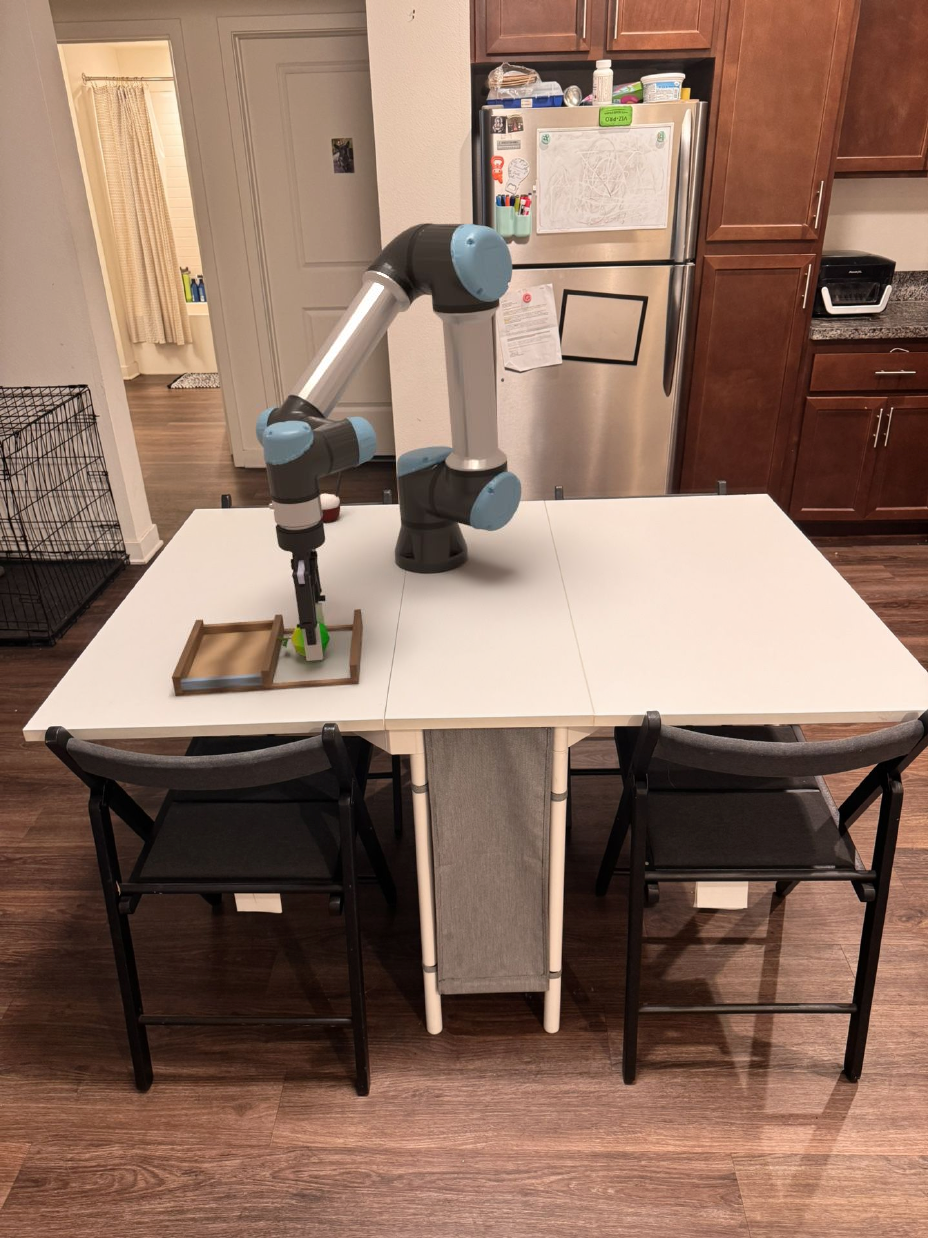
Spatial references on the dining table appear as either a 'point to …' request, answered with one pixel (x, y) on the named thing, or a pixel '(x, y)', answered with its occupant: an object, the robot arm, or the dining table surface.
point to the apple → (299, 641)
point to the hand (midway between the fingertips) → (316, 648)
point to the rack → (247, 657)
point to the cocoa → (331, 503)
